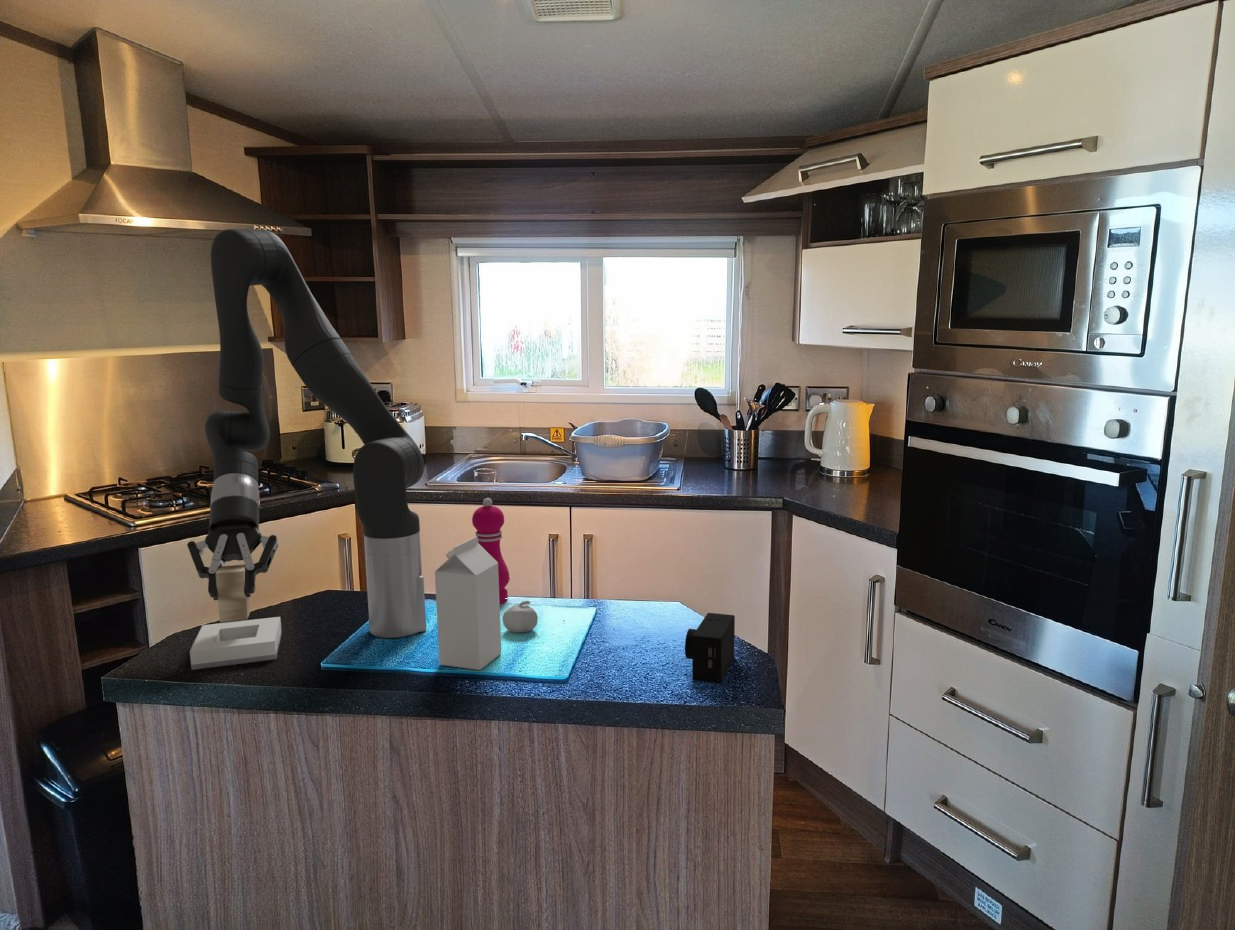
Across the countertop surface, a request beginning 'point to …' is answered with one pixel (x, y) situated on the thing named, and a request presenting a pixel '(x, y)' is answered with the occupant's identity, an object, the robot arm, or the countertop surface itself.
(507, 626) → the garlic
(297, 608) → the countertop surface
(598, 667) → the countertop surface
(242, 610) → the block
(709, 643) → the digital camera
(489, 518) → the pepper mill
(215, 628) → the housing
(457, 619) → the milk carton
